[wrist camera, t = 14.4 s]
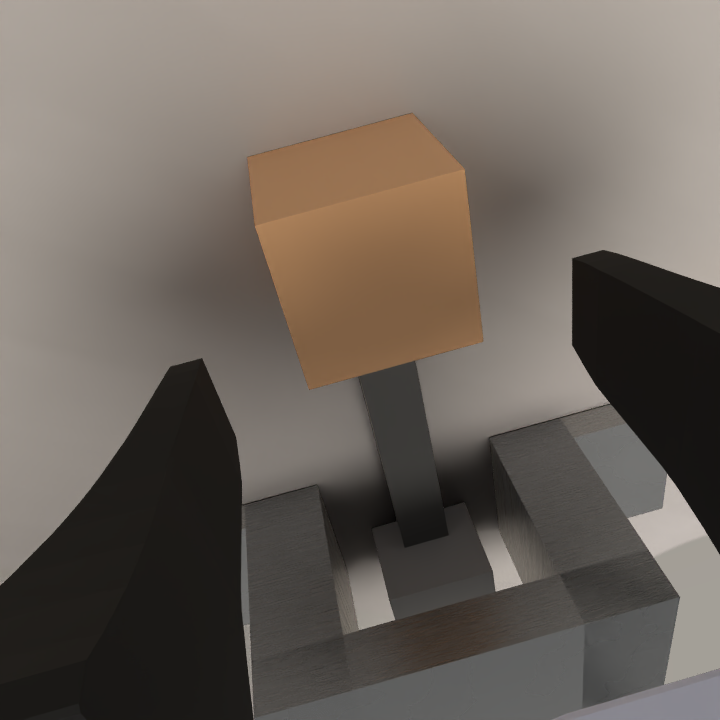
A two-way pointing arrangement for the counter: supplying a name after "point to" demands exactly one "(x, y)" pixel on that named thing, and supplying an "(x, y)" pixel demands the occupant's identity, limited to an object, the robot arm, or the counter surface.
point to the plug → (382, 318)
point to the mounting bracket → (481, 614)
